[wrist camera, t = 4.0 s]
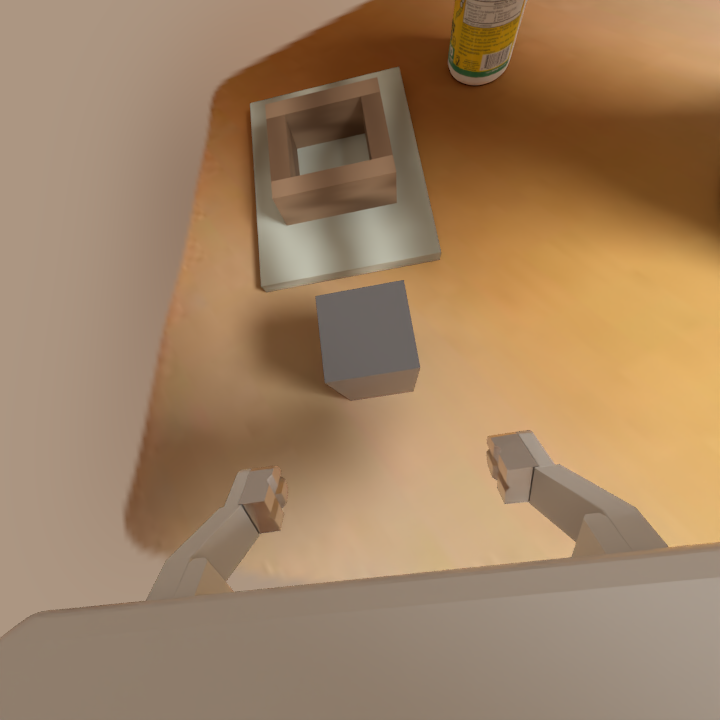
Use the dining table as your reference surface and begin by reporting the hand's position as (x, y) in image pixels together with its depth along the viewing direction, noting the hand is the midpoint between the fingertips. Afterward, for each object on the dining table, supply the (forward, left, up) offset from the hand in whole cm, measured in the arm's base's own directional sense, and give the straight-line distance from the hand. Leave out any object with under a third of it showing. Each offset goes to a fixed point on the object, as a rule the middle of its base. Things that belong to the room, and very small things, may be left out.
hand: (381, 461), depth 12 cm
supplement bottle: (-13, -32, -10) cm, 36 cm away
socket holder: (+1, -23, -9) cm, 25 cm away
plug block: (0, -6, -9) cm, 11 cm away
